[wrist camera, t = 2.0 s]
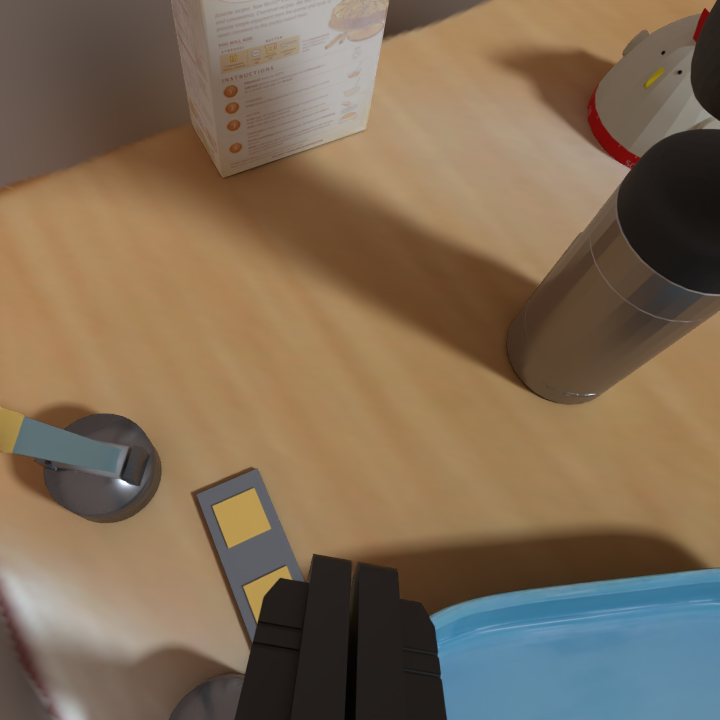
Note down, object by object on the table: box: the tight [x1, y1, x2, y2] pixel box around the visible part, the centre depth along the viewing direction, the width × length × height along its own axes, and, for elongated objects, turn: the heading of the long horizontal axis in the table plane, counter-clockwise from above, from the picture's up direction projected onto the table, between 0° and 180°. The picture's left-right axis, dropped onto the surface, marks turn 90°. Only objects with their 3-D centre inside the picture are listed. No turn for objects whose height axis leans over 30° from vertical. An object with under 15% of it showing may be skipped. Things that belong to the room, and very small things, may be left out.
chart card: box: [196, 468, 305, 644], centre depth 39 cm, size 11×4×1 cm, turn 26°
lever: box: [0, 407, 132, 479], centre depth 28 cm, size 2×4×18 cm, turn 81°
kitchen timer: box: [588, 8, 720, 169], centre depth 55 cm, size 14×14×15 cm
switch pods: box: [34, 414, 245, 720], centre depth 35 cm, size 24×6×6 cm, turn 30°
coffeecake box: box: [170, 0, 389, 178], centre depth 46 cm, size 15×7×20 cm, turn 120°
